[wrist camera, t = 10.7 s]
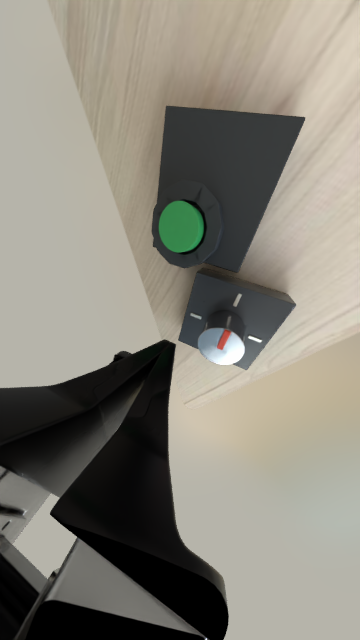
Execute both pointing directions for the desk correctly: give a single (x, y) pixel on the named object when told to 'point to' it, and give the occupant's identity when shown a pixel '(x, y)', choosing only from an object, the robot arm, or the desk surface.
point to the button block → (221, 177)
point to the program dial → (222, 338)
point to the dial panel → (235, 310)
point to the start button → (181, 226)
